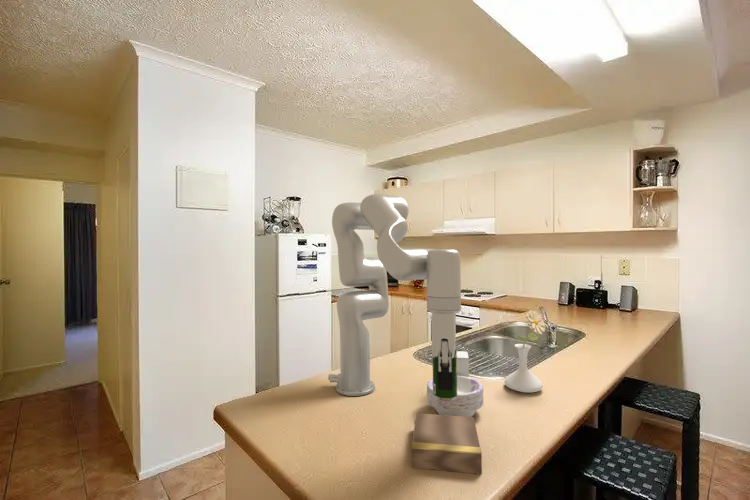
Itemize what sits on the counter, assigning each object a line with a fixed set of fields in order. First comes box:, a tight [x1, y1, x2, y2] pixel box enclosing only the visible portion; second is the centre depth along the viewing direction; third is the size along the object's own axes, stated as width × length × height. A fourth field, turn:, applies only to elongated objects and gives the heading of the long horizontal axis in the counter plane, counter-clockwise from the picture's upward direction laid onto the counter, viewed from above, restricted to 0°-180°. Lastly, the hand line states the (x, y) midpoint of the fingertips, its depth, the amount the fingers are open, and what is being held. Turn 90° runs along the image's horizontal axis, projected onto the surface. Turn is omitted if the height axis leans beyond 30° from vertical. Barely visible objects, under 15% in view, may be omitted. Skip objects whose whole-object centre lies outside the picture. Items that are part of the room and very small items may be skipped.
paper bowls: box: [426, 376, 485, 417], centre depth 99 cm, size 15×15×8 cm
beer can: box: [432, 341, 458, 401], centre depth 81 cm, size 5×5×12 cm
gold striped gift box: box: [411, 412, 483, 475], centre depth 81 cm, size 14×16×4 cm
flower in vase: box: [504, 309, 546, 393], centre depth 115 cm, size 13×11×25 cm
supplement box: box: [457, 350, 470, 378], centre depth 111 cm, size 7×7×13 cm
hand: (444, 383), depth 81 cm, fingers closed on beer can, 5 cm apart
